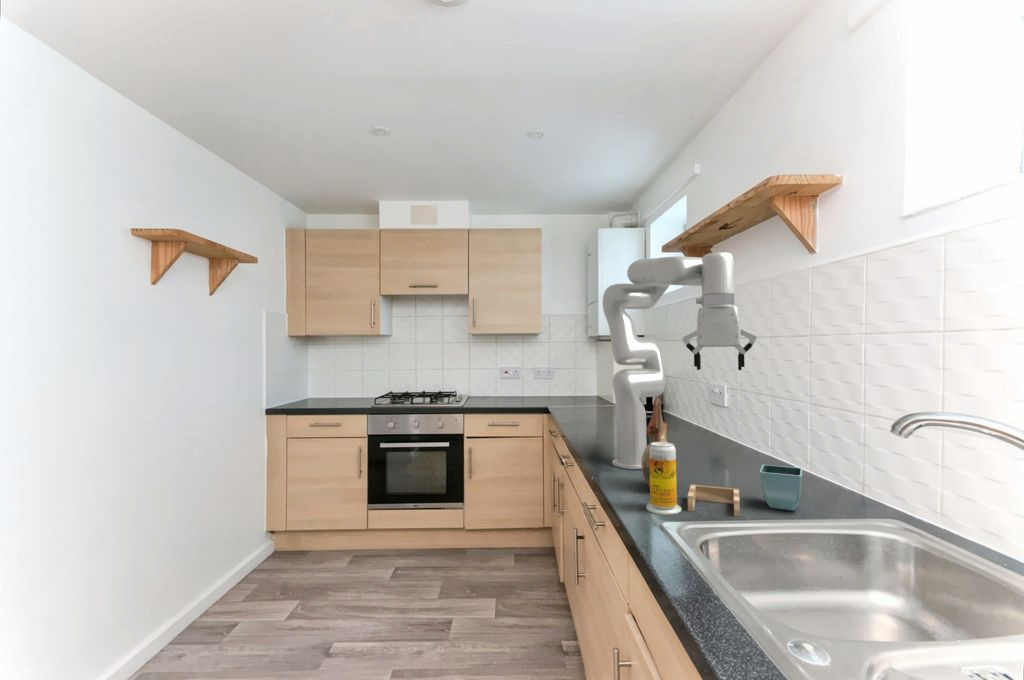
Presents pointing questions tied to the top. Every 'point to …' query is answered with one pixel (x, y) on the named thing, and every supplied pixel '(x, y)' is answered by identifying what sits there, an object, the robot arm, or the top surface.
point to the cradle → (714, 496)
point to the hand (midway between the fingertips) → (719, 369)
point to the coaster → (664, 512)
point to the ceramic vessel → (653, 437)
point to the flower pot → (781, 486)
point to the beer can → (663, 475)
